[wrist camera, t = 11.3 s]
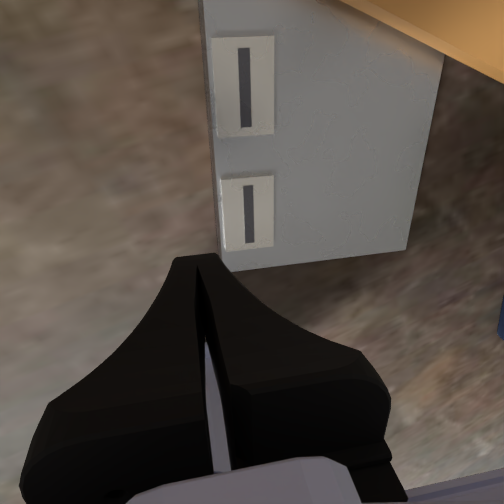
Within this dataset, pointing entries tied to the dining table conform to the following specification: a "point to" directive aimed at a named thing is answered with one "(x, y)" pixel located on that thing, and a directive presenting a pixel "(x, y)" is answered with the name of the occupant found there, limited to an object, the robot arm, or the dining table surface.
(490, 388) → the dining table surface
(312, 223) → the chassis
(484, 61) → the swing arm
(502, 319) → the protein box
